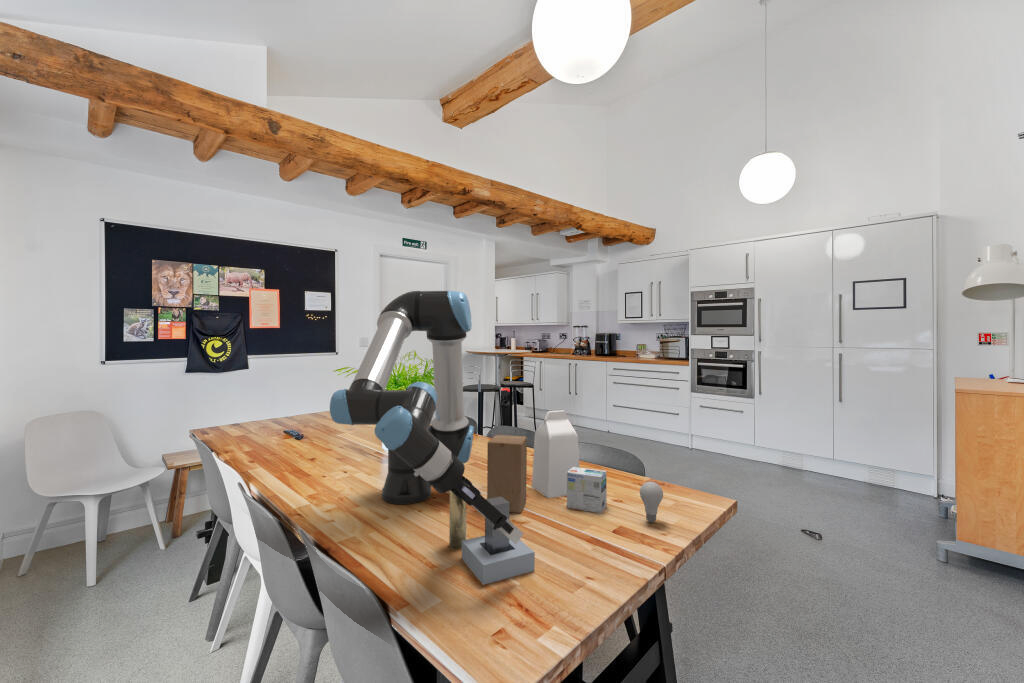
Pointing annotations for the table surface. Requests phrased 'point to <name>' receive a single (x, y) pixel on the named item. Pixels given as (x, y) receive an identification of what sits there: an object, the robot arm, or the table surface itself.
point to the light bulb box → (586, 489)
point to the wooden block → (507, 470)
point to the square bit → (496, 538)
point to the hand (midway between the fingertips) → (504, 525)
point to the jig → (497, 560)
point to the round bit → (457, 521)
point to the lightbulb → (651, 499)
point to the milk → (554, 454)
